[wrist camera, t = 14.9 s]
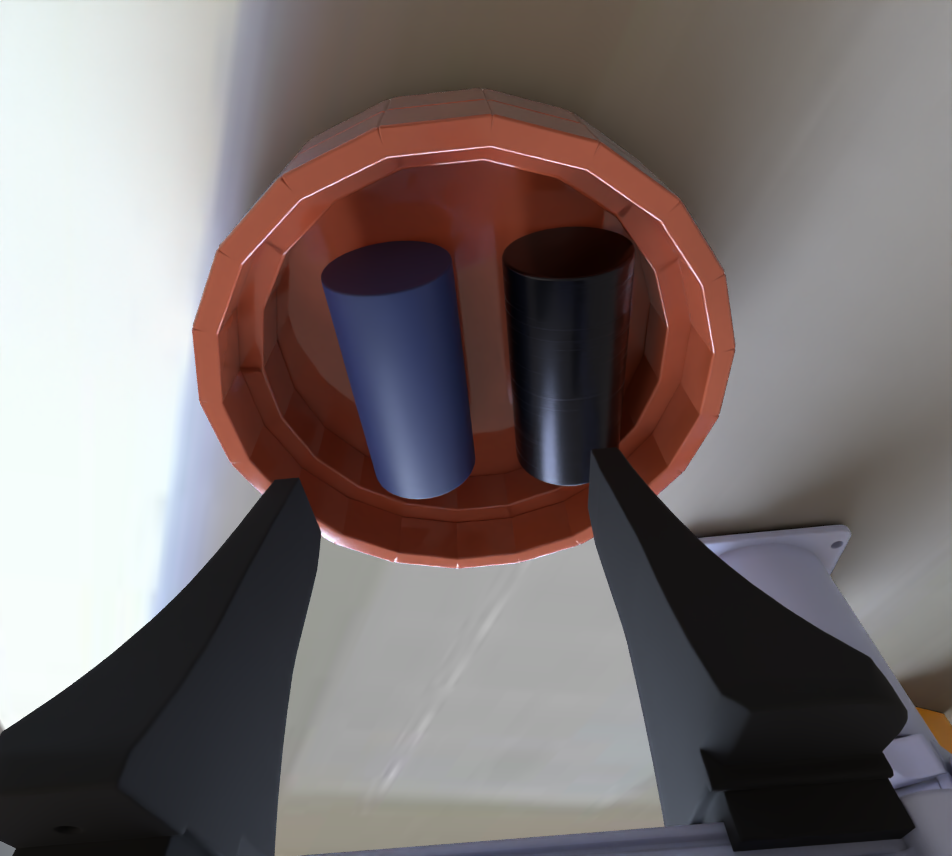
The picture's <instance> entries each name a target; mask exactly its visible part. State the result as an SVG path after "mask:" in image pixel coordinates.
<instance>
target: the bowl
mask: <svg viewBox="0 0 952 856" xmlns="http://www.w3.org/2000/svg"><path fill="white" fill-rule="evenodd" d="M559 227H593V228H600V229H605V230H609V231H613V232H616V233H619V234H621V235H623V236H625V237H626V238H628V239H629V240H630V241H631V242H632V243H633V245H634V248H635V253H636V254H635V265H634V277H633V289H632V301H631V313H630V325H629V337H628V348H627V360H626V372H625V384H624V396H623V408H622V420H621V431H620V443H619V450H620V451H621V452H622V454H623V455H624V456H625V458H626V459H627V460H628V462H629V463H630V464H631V466H632V467H633V468H634V469H635V471H636V472H637V473H638V474H639V476H640V477H641V478H642V479H643V480H644V482H645V483H646V484H647V485H648V486H649V487H650V489H651V490H652V491H653V492H654V493H655V494H656V495H658V494H659V493H660V492H661V491H663V490H664V489H665V488H666V487H667V486H668V485H669V484H670V483H671V482H673V481H674V480H675V479H676V478H677V477H678V476H679V475H680V474H681V473H682V472H683V471H685V469H686V468H687V466H688V464H689V463H690V461H691V460H692V458H693V457H694V455H695V453H696V452H697V450H698V449H699V447H700V446H701V444H702V442H703V441H704V439H705V438H706V436H707V435H708V433H709V431H710V430H711V428H712V427H713V425H714V424H715V422H716V420H717V419H718V417H719V414H720V410H721V406H722V402H723V398H724V394H725V390H726V386H727V382H728V378H729V374H730V369H731V365H732V361H733V357H734V353H735V338H734V331H733V324H732V317H731V309H730V302H729V295H728V288H727V280H726V275H725V273H724V269H723V268H722V266H721V264H720V263H719V261H718V259H717V258H716V256H715V254H714V253H713V251H712V249H711V248H710V246H709V244H708V243H707V241H706V239H705V238H704V236H703V235H702V233H701V231H700V230H699V228H698V226H697V225H696V223H695V221H694V220H693V218H692V216H691V215H690V213H689V211H688V210H687V208H686V206H685V205H684V203H683V202H682V201H681V200H680V199H679V197H678V196H677V195H676V194H675V193H674V192H672V191H671V190H670V189H669V188H668V187H667V186H666V185H665V184H664V183H663V182H662V181H661V180H660V179H658V178H657V177H656V176H655V175H654V174H653V173H652V172H651V171H650V170H649V169H647V168H646V167H645V166H644V165H643V164H642V163H641V162H640V161H639V160H638V159H637V158H635V157H634V156H633V155H631V154H630V153H628V152H627V151H626V150H624V149H623V148H622V147H620V146H619V145H618V144H616V143H615V142H613V141H612V140H611V139H609V138H608V137H607V136H605V135H604V134H602V133H601V132H600V131H598V130H597V129H596V128H594V127H593V126H591V125H590V124H589V123H587V122H586V121H585V120H583V119H582V118H580V117H579V116H578V115H576V114H575V113H571V112H570V111H568V110H566V109H563V108H559V107H555V106H551V105H547V104H544V103H540V102H536V101H532V100H528V99H525V98H521V97H517V96H513V95H509V94H506V93H502V92H498V91H494V90H490V89H483V90H482V89H481V88H473V89H464V90H455V91H446V92H436V93H427V94H418V95H409V96H400V97H393V98H391V100H389V99H386V100H384V101H382V102H380V103H378V104H376V105H375V106H373V107H371V108H369V109H367V110H365V111H363V112H361V113H359V114H357V115H355V116H353V117H351V118H349V119H347V120H345V121H344V122H342V123H340V124H338V125H336V126H334V127H332V128H330V129H328V130H326V131H324V132H322V133H320V134H318V135H316V136H315V137H313V138H312V139H311V140H309V141H308V142H307V143H306V144H305V145H304V146H303V147H302V148H301V150H300V151H299V152H298V153H297V154H296V155H295V157H294V158H293V159H292V160H291V161H290V162H289V163H288V165H287V166H286V167H285V168H284V169H283V170H282V171H281V173H280V174H279V175H278V176H277V177H276V178H275V180H274V181H273V182H272V183H271V184H270V185H269V186H268V188H267V189H266V190H265V191H264V192H263V193H262V195H261V196H260V197H259V198H258V199H257V200H256V202H255V203H254V204H253V205H252V206H251V208H250V209H249V210H248V211H247V212H246V214H245V215H244V216H243V217H242V218H241V220H240V221H239V222H238V223H237V224H236V226H235V227H234V228H233V229H232V230H231V232H230V233H229V234H228V235H227V236H226V238H225V239H224V240H223V241H222V242H221V244H220V245H219V248H218V249H217V250H216V253H215V256H214V259H213V263H212V266H211V269H210V272H209V275H208V278H207V281H206V285H205V288H204V291H203V294H202V297H201V300H200V304H199V307H198V310H197V313H196V316H195V319H194V323H193V328H192V334H193V344H194V354H195V364H196V374H197V384H198V394H199V401H200V404H201V406H202V408H203V410H204V412H205V414H206V416H207V418H208V420H209V422H210V424H211V426H212V428H213V430H214V432H215V434H216V436H217V438H218V440H219V442H220V444H221V446H222V448H223V450H224V452H225V454H226V455H227V457H228V459H229V461H230V463H232V465H233V466H234V467H235V468H236V469H237V470H238V471H239V472H240V473H241V474H242V475H243V476H244V477H245V478H246V479H247V480H248V481H249V482H250V483H251V484H252V485H253V486H254V487H255V488H256V489H257V490H258V492H259V493H260V494H261V495H263V494H264V492H265V491H266V490H267V489H268V487H269V486H270V485H271V484H272V483H273V481H274V480H277V479H287V478H298V477H299V479H300V481H301V484H302V486H303V488H304V491H305V493H306V496H307V498H308V501H309V503H310V506H311V508H312V511H313V513H314V515H315V518H316V520H317V523H318V525H319V528H320V530H321V536H322V537H323V538H325V539H327V540H329V541H330V542H334V544H337V545H340V546H343V547H346V548H349V549H353V550H356V551H359V552H362V553H365V554H368V555H372V556H375V557H378V558H381V559H384V560H388V561H391V562H394V561H395V562H396V563H405V564H415V565H425V566H435V567H445V568H454V569H455V568H459V569H460V568H470V567H481V566H492V565H502V564H513V563H519V562H524V561H527V560H531V559H534V558H538V557H541V556H544V555H548V554H551V553H554V552H558V551H561V550H564V549H568V548H571V547H575V546H578V545H579V544H583V543H584V542H586V541H588V540H590V539H592V538H594V536H593V531H592V526H591V521H590V516H589V511H588V493H589V483H587V484H583V485H577V486H559V485H553V484H549V483H545V482H543V481H540V480H538V479H536V478H534V477H533V476H531V475H530V474H529V473H527V472H526V471H525V470H524V468H523V467H522V466H521V464H520V463H519V461H518V458H517V454H516V443H515V430H514V416H513V403H512V390H511V376H510V363H509V350H508V336H507V323H506V310H505V296H504V283H503V270H502V255H503V252H504V250H505V248H506V247H507V246H508V245H509V244H510V243H512V242H513V241H515V240H516V239H518V238H520V237H523V236H525V235H528V234H530V233H534V232H537V231H541V230H546V229H551V228H559ZM392 241H420V242H427V243H432V244H435V245H438V246H440V247H442V248H444V249H445V250H447V251H448V252H449V254H450V255H451V258H452V263H453V272H454V280H455V289H456V297H457V306H458V314H459V323H460V331H461V339H462V348H463V356H464V365H465V373H466V382H467V390H468V399H469V407H470V416H471V424H472V433H473V441H474V450H475V465H474V468H473V470H472V472H471V474H470V475H469V477H468V478H467V479H466V480H465V481H464V482H463V483H462V484H461V485H460V486H458V487H457V488H455V489H454V490H452V491H450V492H448V493H446V494H443V495H440V496H437V497H433V498H427V499H408V498H403V497H399V496H396V495H394V494H392V493H390V492H389V491H387V490H386V489H385V488H383V487H382V486H381V484H380V483H379V482H378V480H377V477H376V474H375V470H374V467H373V463H372V460H371V456H370V453H369V449H368V446H367V442H366V438H365V435H364V431H363V428H362V424H361V421H360V417H359V414H358V410H357V406H356V403H355V399H354V396H353V392H352V389H351V385H350V382H349V378H348V375H347V371H346V367H345V364H344V360H343V357H342V353H341V350H340V346H339V343H338V339H337V335H336V332H335V328H334V325H333V321H332V318H331V314H330V311H329V307H328V304H327V300H326V296H325V293H324V289H323V286H322V282H321V274H322V272H323V270H324V268H325V267H326V266H327V265H328V264H329V263H330V262H332V261H333V260H334V259H336V258H338V257H339V256H341V255H343V254H345V253H348V252H350V251H353V250H355V249H358V248H361V247H365V246H369V245H373V244H378V243H384V242H392Z"/></svg>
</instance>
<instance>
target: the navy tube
mask: <svg viewBox="0 0 952 856" xmlns="http://www.w3.org/2000/svg"><path fill="white" fill-rule="evenodd" d="M321 282H322V286H323V289H324V293H325V296H326V300H327V304H328V307H329V311H330V314H331V318H332V321H333V325H334V328H335V332H336V335H337V339H338V343H339V346H340V350H341V353H342V357H343V360H344V364H345V367H346V371H347V375H348V378H349V382H350V385H351V389H352V392H353V396H354V399H355V403H356V406H357V410H358V414H359V417H360V421H361V424H362V428H363V431H364V435H365V438H366V442H367V446H368V449H369V453H370V456H371V460H372V463H373V467H374V470H375V474H376V477H377V480H378V482H379V483H380V484H381V486H382V487H383V488H385V489H386V490H387V491H389V492H390V493H392V494H394V495H396V496H399V497H403V498H408V499H427V498H433V497H437V496H440V495H443V494H446V493H448V492H450V491H452V490H454V489H455V488H457V487H458V486H460V485H461V484H462V483H463V482H464V481H465V480H466V479H467V478H468V477H469V475H470V474H471V472H472V470H473V468H474V465H475V450H474V441H473V433H472V424H471V416H470V407H469V399H468V390H467V382H466V373H465V365H464V356H463V348H462V339H461V331H460V323H459V314H458V306H457V297H456V289H455V280H454V272H453V263H452V258H451V255H450V254H449V252H448V251H447V250H445V249H444V248H442V247H440V246H438V245H435V244H432V243H427V242H420V241H392V242H384V243H378V244H373V245H369V246H365V247H361V248H358V249H355V250H353V251H350V252H348V253H345V254H343V255H341V256H339V257H338V258H336V259H334V260H333V261H332V262H330V263H329V264H328V265H327V266H326V267H325V268H324V270H323V272H322V274H321Z"/></svg>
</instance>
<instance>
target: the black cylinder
mask: <svg viewBox="0 0 952 856" xmlns="http://www.w3.org/2000/svg"><path fill="white" fill-rule="evenodd" d="M635 254H636V253H635V248H634V245H633V243H632V242H631V241H630V240H629V239H628V238H626V237H625V236H623V235H621V234H619V233H616V232H613V231H609V230H605V229H600V228H593V227H559V228H551V229H546V230H541V231H537V232H534V233H530V234H528V235H525V236H523V237H520V238H518V239H516V240H515V241H513V242H512V243H510V244H509V245H508V246H507V247H506V248H505V250H504V252H503V255H502V270H503V283H504V296H505V310H506V323H507V336H508V350H509V363H510V376H511V390H512V403H513V416H514V430H515V443H516V454H517V458H518V461H519V463H520V464H521V466H522V467H523V468H524V470H525V471H526V472H527V473H529V474H530V475H531V476H533V477H534V478H536V479H538V480H540V481H543V482H545V483H549V484H553V485H559V486H577V485H583V484H587V483H589V475H590V457H591V450H592V449H602V448H613V447H616V448H618V449H619V443H620V431H621V420H622V408H623V396H624V384H625V372H626V360H627V348H628V337H629V325H630V313H631V301H632V289H633V277H634V265H635Z"/></svg>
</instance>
